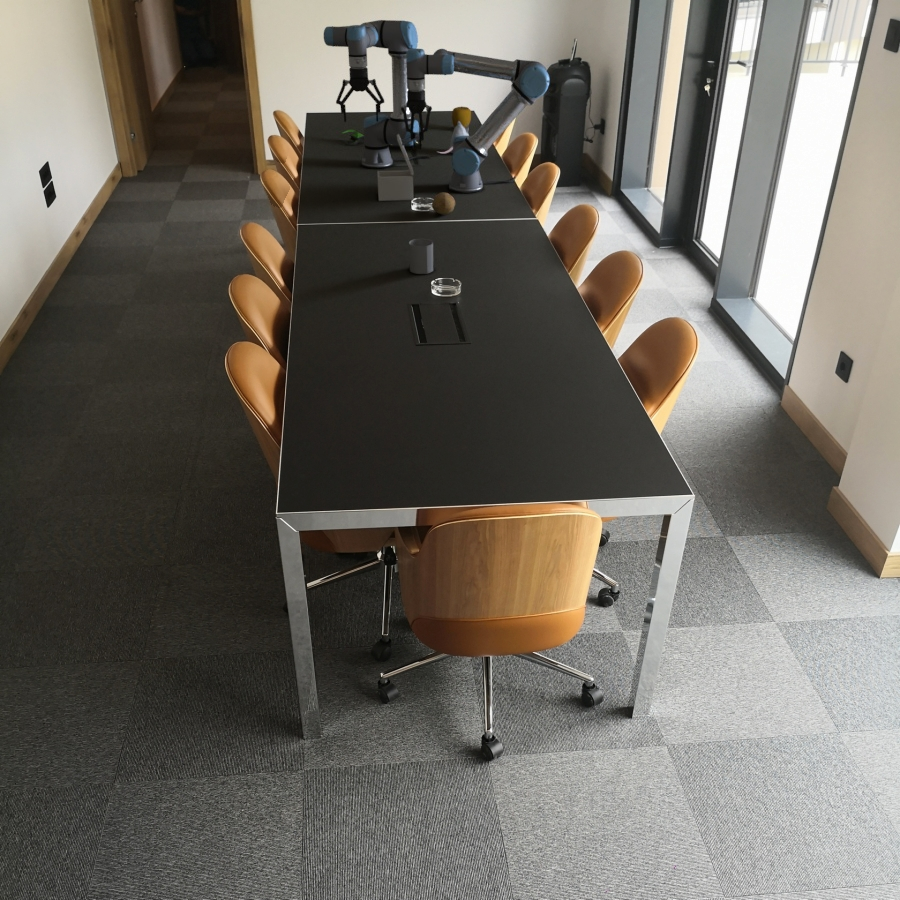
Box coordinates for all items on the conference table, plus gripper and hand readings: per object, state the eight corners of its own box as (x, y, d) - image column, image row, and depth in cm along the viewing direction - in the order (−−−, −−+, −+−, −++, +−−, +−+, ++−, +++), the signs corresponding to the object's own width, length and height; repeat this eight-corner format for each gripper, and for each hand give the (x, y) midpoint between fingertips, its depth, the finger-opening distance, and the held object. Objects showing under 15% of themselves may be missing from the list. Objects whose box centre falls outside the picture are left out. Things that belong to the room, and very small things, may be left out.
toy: (474, 152, 449) (475, 122, 441) (443, 160, 434) (443, 129, 426) (462, 149, 454) (462, 119, 446) (430, 157, 439) (430, 126, 431)
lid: (397, 140, 365) (417, 132, 364) (396, 134, 373) (415, 126, 372) (411, 175, 373) (431, 167, 372) (410, 169, 381) (429, 161, 380)
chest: (378, 200, 378) (377, 177, 373) (378, 194, 386) (377, 170, 381) (413, 199, 379) (412, 176, 374) (412, 193, 387) (411, 170, 382)
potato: (453, 208, 369) (453, 189, 365) (456, 218, 357) (456, 199, 353) (431, 208, 368) (430, 189, 364) (432, 218, 356) (432, 199, 352)
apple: (471, 132, 486) (471, 108, 479) (451, 132, 486) (451, 108, 479) (470, 128, 495) (471, 104, 488) (452, 128, 495) (452, 104, 488)
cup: (409, 265, 311) (408, 238, 306) (432, 265, 312) (431, 238, 307) (410, 274, 304) (409, 246, 299) (433, 273, 305) (433, 246, 299)
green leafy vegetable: (396, 126, 467) (340, 124, 465) (396, 141, 460) (339, 139, 458) (396, 136, 472) (341, 134, 470) (396, 151, 465) (340, 149, 463)
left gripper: (327, 69, 354) (331, 123, 365) (388, 68, 355) (390, 122, 367) (328, 66, 360) (332, 119, 371) (388, 65, 361) (390, 118, 373)
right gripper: (398, 91, 356) (400, 150, 368) (434, 91, 357) (435, 150, 369) (397, 88, 362) (399, 146, 375) (433, 87, 363) (434, 145, 376)
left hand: (361, 121), depth 369 cm, fingers open, 13 cm apart
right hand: (417, 148), depth 372 cm, fingers closed on lid, 2 cm apart
